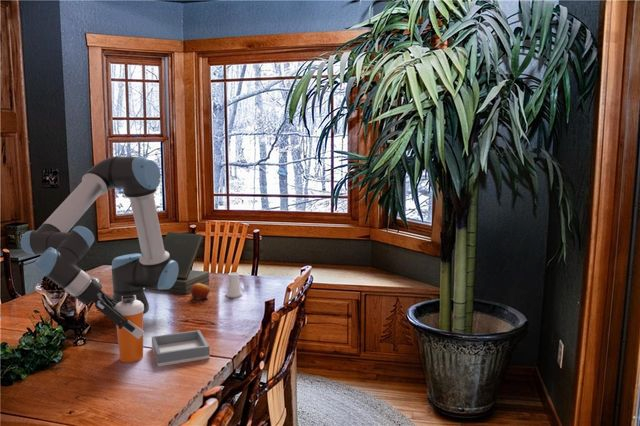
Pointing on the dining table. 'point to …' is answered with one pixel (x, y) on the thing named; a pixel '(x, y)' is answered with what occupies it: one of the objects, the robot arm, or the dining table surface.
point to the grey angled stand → (184, 261)
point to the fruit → (200, 291)
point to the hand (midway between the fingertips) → (139, 329)
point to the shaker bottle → (126, 341)
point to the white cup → (234, 285)
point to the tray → (180, 348)
